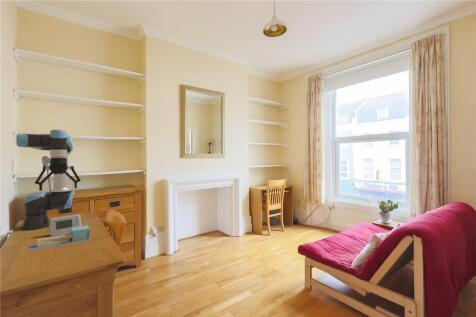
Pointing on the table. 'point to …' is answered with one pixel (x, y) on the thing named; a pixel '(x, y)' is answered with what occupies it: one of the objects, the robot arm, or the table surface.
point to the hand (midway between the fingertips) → (58, 195)
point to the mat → (34, 246)
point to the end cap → (80, 233)
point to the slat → (53, 240)
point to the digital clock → (63, 224)
